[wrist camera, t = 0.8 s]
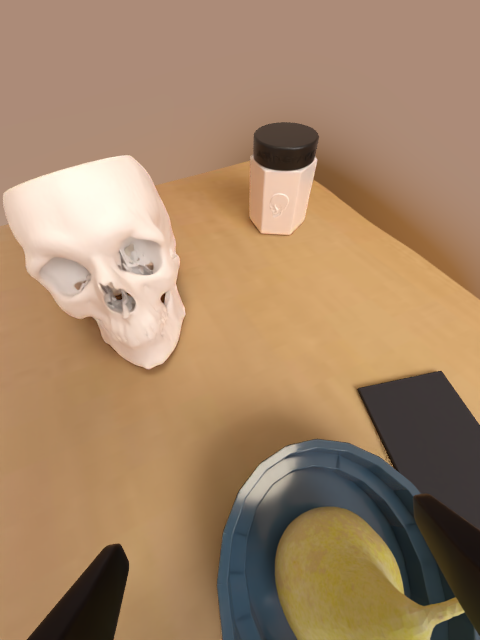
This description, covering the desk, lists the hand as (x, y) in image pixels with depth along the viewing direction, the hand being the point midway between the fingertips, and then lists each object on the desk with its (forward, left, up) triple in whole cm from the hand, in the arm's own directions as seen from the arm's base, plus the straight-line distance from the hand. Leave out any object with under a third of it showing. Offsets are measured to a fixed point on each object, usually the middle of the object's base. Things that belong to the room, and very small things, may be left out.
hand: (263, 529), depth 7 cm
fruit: (-4, -4, -14) cm, 16 cm away
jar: (+36, -12, -15) cm, 41 cm away
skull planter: (+24, +10, -15) cm, 30 cm away
